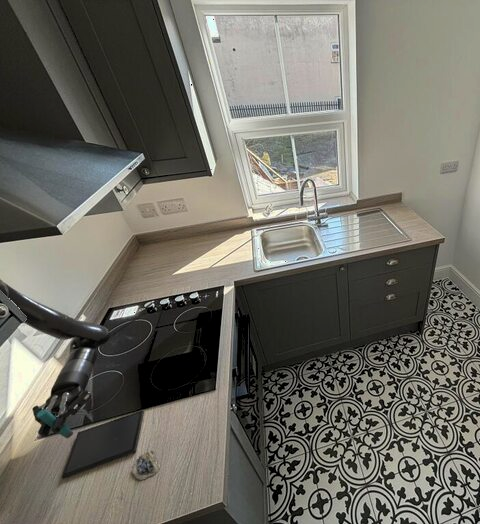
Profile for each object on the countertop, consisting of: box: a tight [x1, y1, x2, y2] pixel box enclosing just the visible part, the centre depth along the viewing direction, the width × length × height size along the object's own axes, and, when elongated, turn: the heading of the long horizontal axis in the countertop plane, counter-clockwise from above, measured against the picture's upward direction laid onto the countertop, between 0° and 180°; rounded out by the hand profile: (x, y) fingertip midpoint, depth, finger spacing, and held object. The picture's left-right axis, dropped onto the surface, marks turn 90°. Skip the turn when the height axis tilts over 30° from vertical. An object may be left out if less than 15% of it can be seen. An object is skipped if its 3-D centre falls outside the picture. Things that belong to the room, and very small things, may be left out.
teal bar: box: [37, 408, 74, 439], centre depth 79 cm, size 2×2×12 cm
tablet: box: [60, 410, 145, 480], centre depth 88 cm, size 18×13×1 cm
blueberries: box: [131, 450, 161, 481], centre depth 82 cm, size 7×8×2 cm
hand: (49, 433), depth 76 cm, fingers closed on teal bar, 2 cm apart
